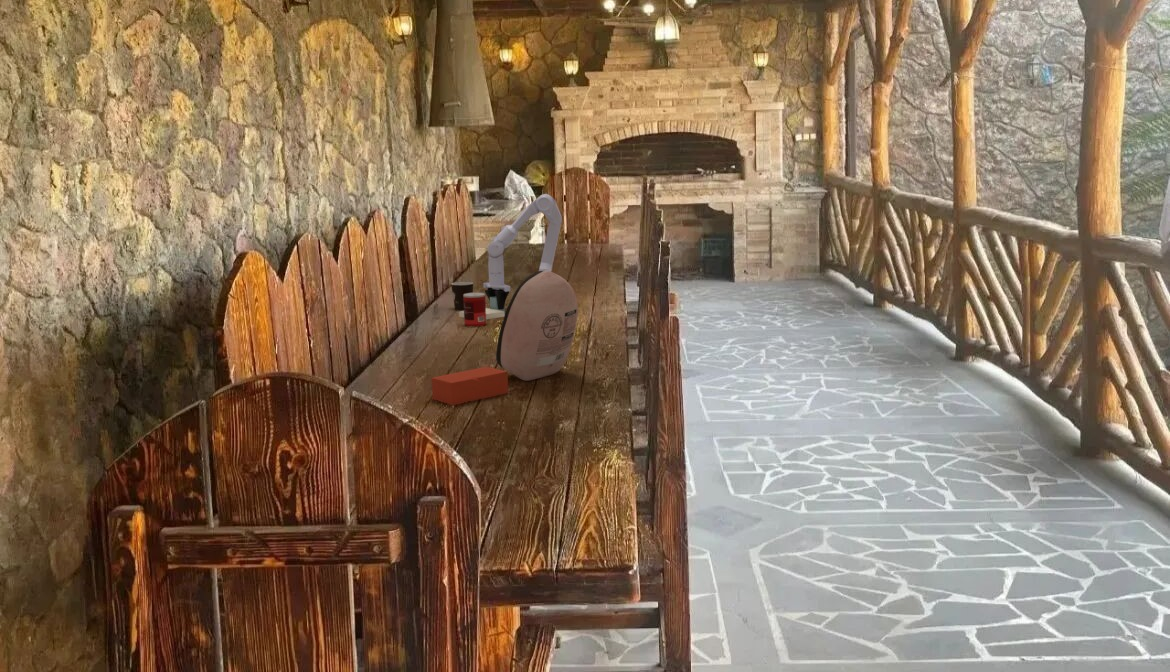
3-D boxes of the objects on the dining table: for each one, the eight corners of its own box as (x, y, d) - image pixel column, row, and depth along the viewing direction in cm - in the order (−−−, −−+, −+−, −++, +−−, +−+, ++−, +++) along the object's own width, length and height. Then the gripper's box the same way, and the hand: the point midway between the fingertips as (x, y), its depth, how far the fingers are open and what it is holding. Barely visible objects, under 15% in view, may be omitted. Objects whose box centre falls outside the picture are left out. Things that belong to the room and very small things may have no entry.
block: (505, 312, 401) (504, 297, 400) (496, 314, 398) (496, 298, 397) (498, 311, 404) (498, 296, 403) (490, 312, 401) (489, 297, 400)
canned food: (488, 322, 380) (487, 292, 378) (483, 326, 372) (482, 295, 370) (467, 322, 381) (465, 292, 379) (462, 326, 373) (461, 295, 371)
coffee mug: (472, 310, 407) (471, 284, 405) (450, 311, 407) (449, 285, 405) (476, 305, 418) (475, 280, 416) (454, 306, 418) (453, 281, 417)
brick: (487, 388, 283) (486, 366, 282) (508, 393, 277) (508, 371, 275) (431, 400, 271) (430, 377, 270) (452, 406, 265) (451, 382, 264)
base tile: (504, 316, 392) (504, 311, 392) (478, 320, 385) (477, 315, 384) (485, 312, 401) (485, 307, 401) (459, 316, 393) (459, 311, 393)
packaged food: (539, 365, 308) (536, 263, 302) (592, 374, 296) (590, 267, 290) (486, 380, 291) (482, 271, 286) (539, 389, 279) (536, 276, 273)
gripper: (476, 272, 401) (477, 307, 404) (499, 275, 390) (500, 311, 393) (491, 270, 406) (492, 305, 408) (514, 273, 395) (515, 309, 398)
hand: (497, 308), depth 401 cm, fingers closed on block, 4 cm apart
